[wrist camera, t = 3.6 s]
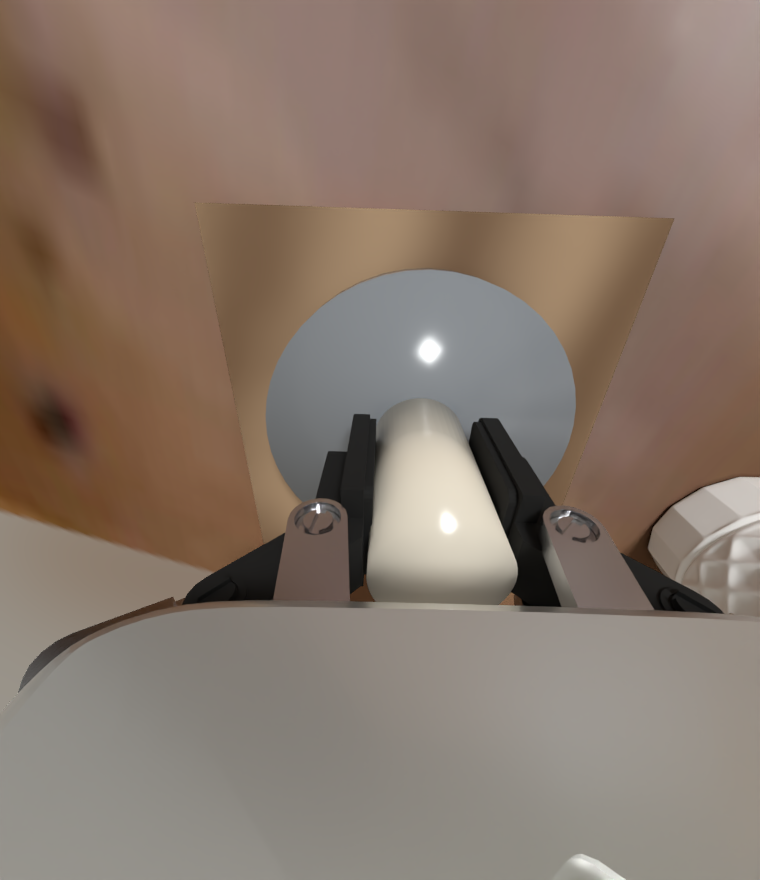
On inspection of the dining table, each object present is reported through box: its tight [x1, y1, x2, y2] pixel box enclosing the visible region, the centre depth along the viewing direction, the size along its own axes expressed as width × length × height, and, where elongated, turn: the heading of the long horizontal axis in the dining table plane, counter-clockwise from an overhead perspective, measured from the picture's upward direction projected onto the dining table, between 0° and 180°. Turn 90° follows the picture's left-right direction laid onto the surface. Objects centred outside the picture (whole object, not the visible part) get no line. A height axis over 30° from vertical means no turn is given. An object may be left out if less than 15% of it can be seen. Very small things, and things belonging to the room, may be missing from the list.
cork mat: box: [194, 203, 674, 543], centre depth 14 cm, size 14×14×1 cm
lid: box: [266, 268, 576, 605], centre depth 10 cm, size 11×11×7 cm
